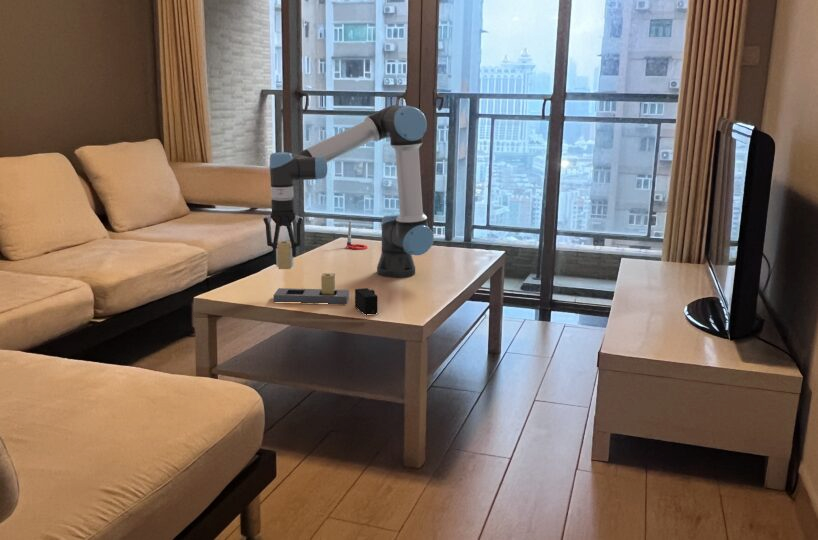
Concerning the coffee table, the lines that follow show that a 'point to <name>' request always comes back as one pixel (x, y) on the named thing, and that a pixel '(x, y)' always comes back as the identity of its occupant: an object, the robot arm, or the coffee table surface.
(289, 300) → the rail
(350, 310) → the coffee table surface
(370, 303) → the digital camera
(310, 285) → the coffee table surface
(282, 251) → the tan tall block
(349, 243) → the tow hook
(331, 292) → the beige upright block
